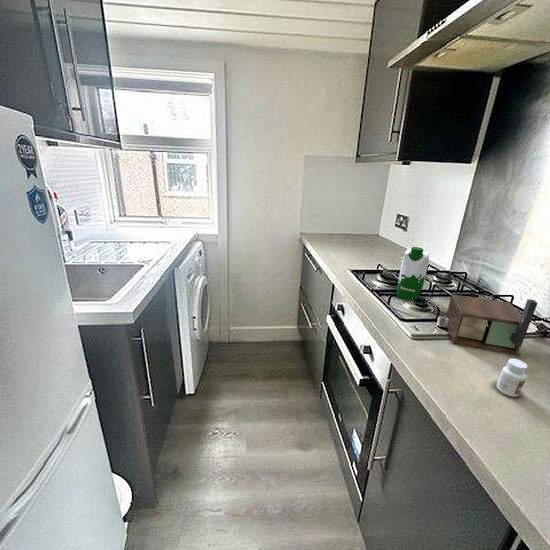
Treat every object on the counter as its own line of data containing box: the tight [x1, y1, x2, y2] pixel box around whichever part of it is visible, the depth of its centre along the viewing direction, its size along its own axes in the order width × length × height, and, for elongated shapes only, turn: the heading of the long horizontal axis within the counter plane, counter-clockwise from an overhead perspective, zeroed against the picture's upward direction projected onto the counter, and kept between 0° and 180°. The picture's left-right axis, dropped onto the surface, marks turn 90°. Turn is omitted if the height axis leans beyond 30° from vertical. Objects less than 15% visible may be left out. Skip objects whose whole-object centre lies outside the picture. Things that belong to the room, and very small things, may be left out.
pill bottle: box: [496, 358, 528, 397], centre depth 69 cm, size 4×4×8 cm
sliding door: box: [485, 298, 538, 348], centre depth 81 cm, size 7×4×16 cm, turn 72°
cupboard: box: [445, 293, 522, 356], centre depth 90 cm, size 16×14×10 cm
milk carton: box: [396, 246, 430, 303], centre depth 115 cm, size 9×9×20 cm
